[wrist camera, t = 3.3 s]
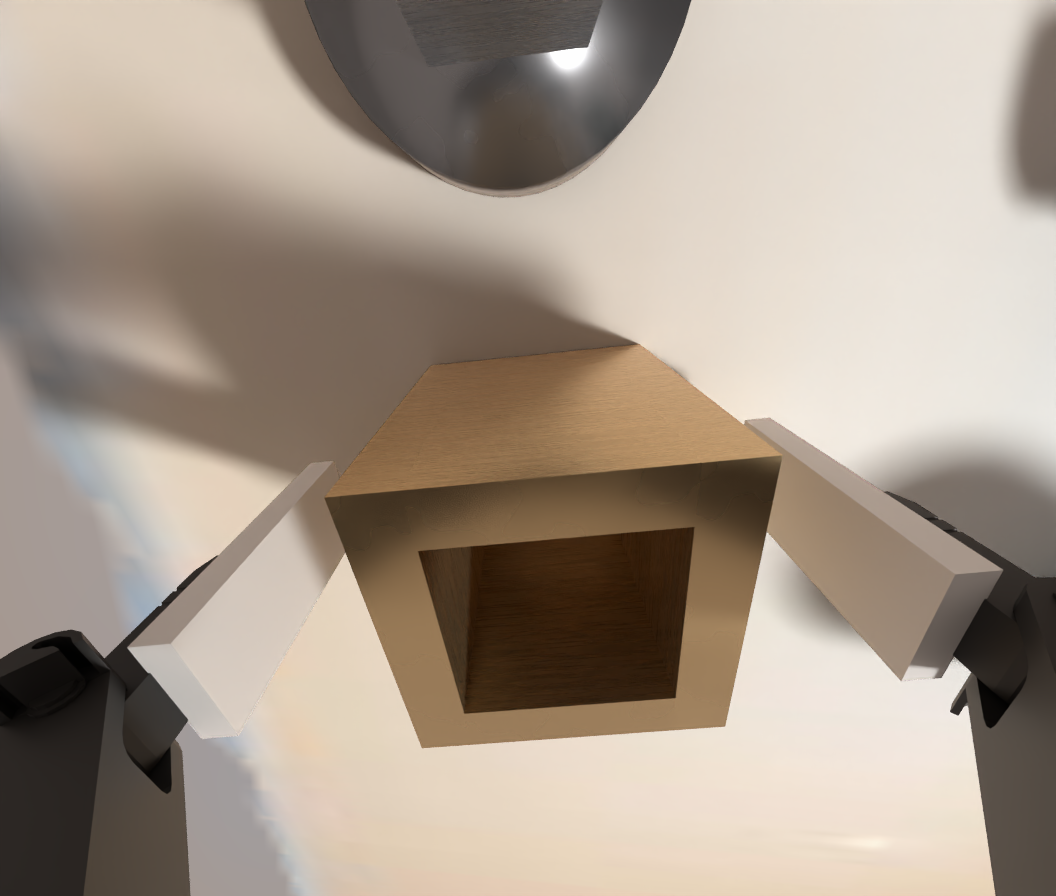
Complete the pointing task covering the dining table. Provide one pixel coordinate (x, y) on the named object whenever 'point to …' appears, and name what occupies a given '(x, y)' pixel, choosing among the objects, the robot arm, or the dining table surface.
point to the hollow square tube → (558, 546)
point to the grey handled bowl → (500, 80)
